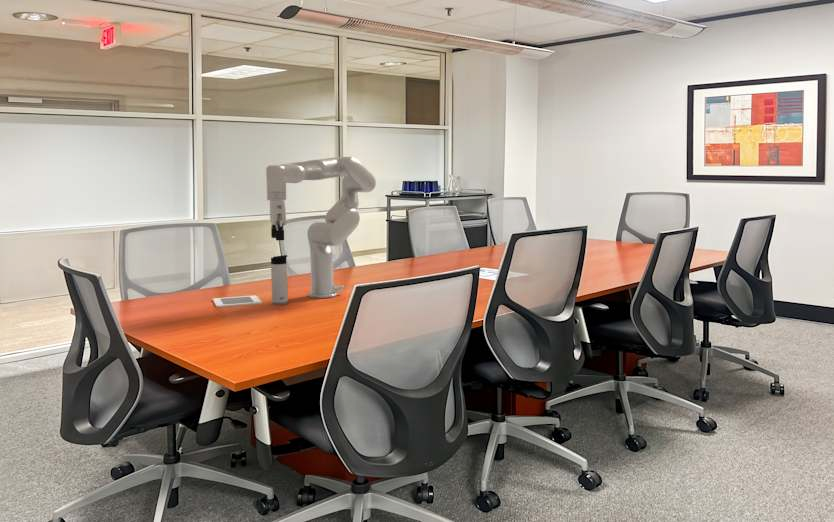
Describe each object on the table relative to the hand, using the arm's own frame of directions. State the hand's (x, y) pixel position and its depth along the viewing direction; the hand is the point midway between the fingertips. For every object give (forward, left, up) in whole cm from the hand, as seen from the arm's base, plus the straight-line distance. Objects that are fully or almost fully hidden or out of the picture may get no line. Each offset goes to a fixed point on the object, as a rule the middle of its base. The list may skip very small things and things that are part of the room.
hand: (277, 239), depth 292 cm
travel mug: (0, 0, -27) cm, 27 cm away
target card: (+16, -11, -27) cm, 33 cm away
